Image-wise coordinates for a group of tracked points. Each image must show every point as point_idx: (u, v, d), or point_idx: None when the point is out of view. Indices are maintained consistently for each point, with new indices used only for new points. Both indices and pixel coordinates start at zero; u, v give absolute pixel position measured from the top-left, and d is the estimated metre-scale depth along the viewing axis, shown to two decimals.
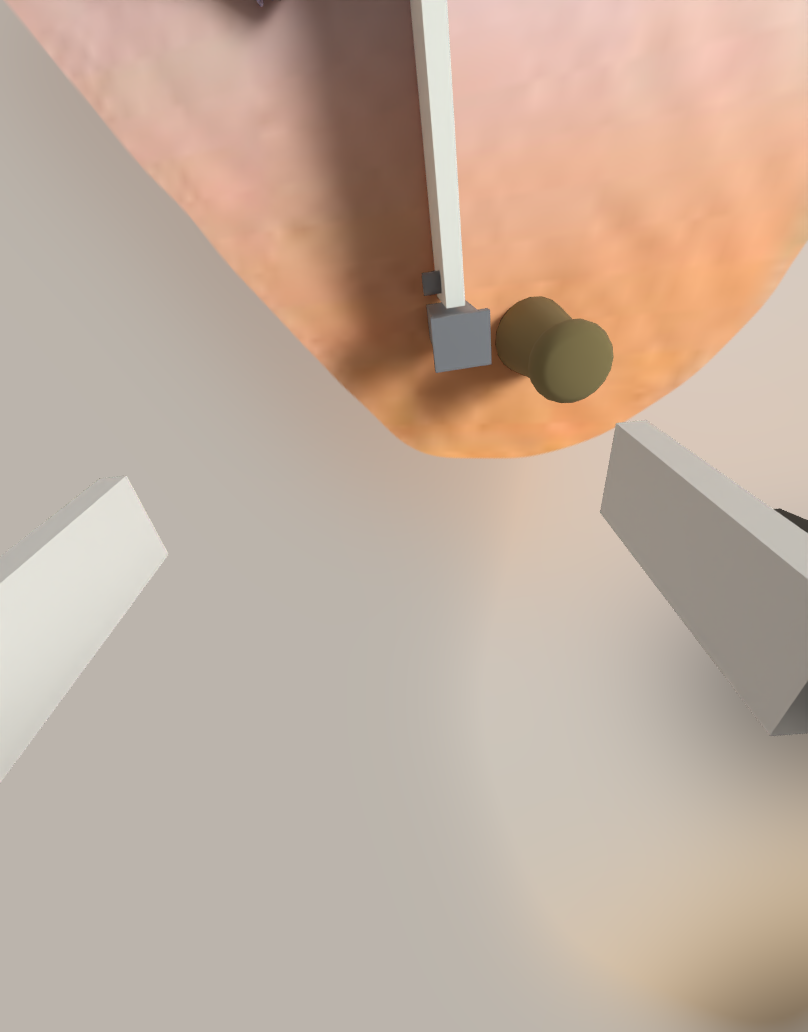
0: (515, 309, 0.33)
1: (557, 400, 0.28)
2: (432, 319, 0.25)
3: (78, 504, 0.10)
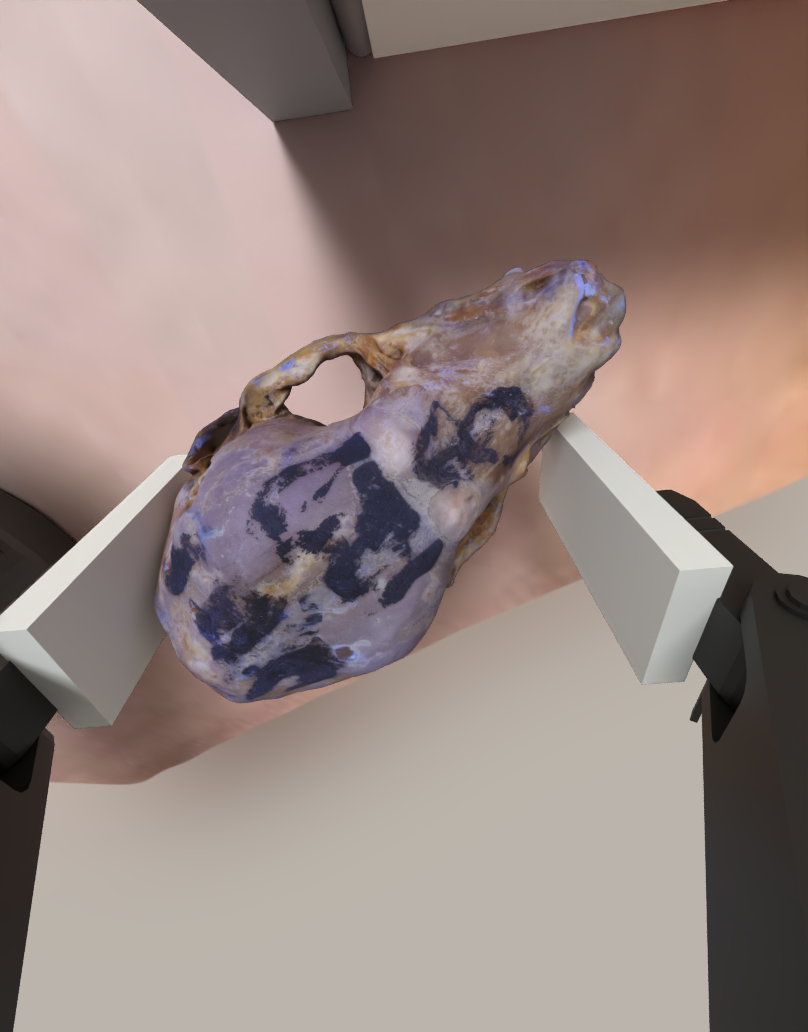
0: None
1: None
2: None
3: (158, 477, 0.11)
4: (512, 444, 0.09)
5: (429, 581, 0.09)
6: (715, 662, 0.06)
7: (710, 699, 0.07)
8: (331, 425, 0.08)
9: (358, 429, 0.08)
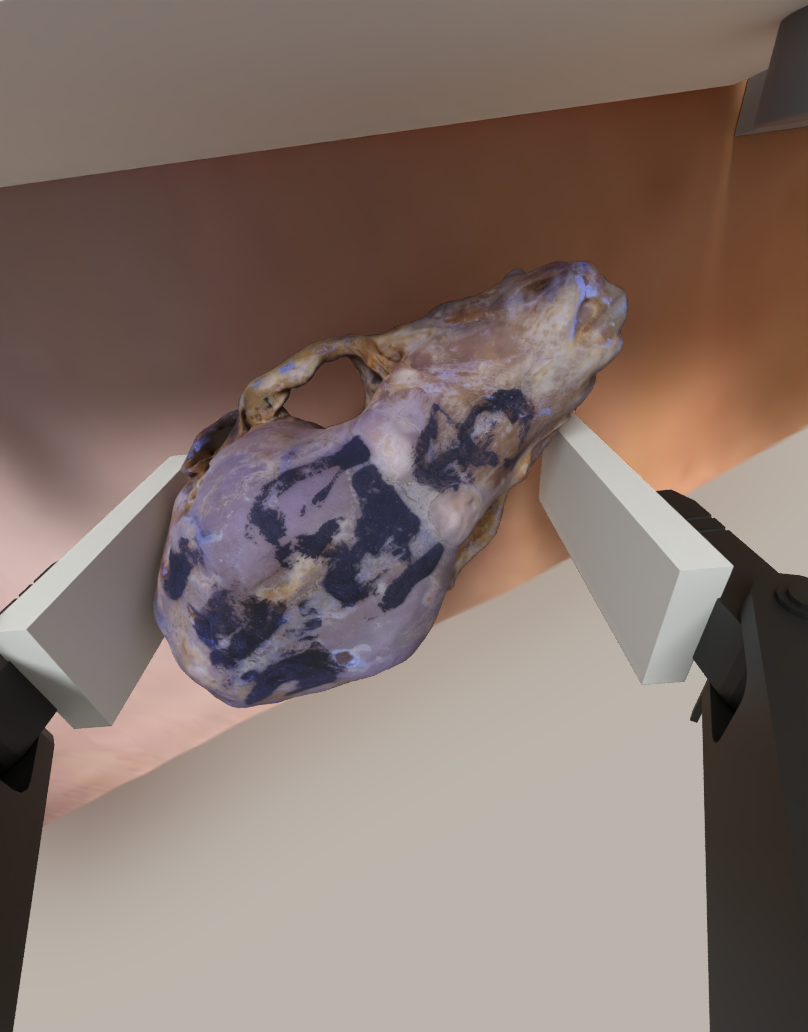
0: None
1: None
2: None
3: (158, 477, 0.11)
4: (512, 446, 0.09)
5: (429, 585, 0.08)
6: (716, 662, 0.06)
7: (711, 699, 0.07)
8: (330, 428, 0.08)
9: (357, 432, 0.08)
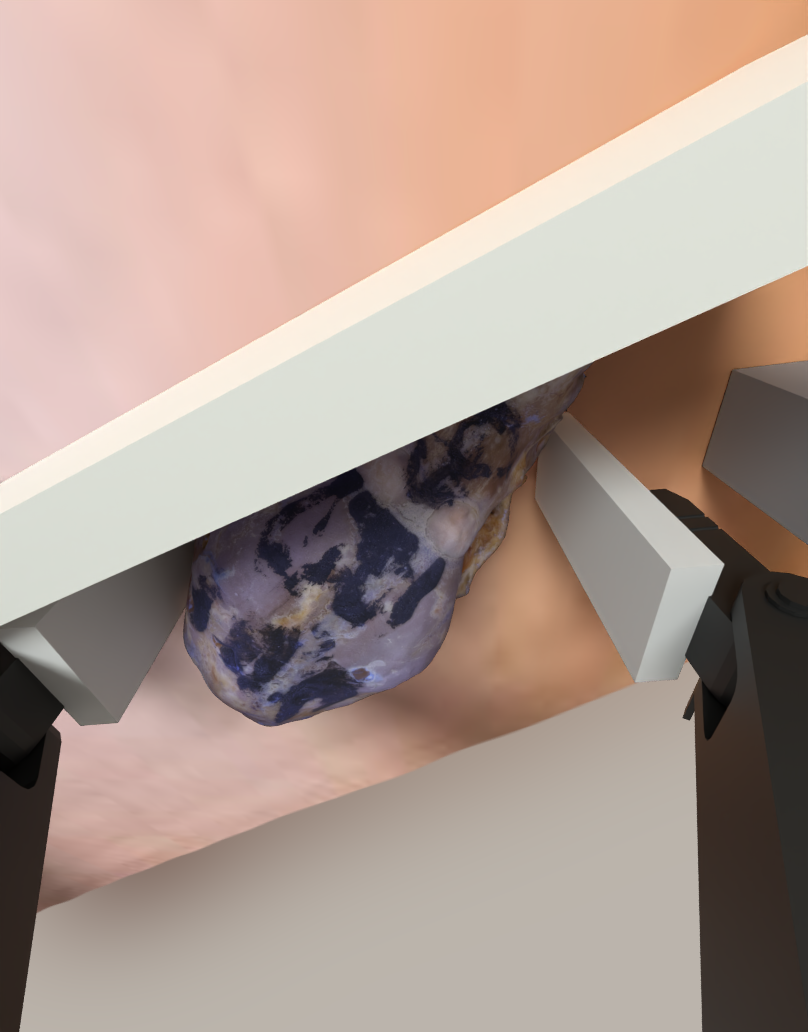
0: None
1: None
2: None
3: None
4: (504, 456, 0.09)
5: (435, 598, 0.09)
6: (707, 660, 0.07)
7: (702, 697, 0.07)
8: None
9: None
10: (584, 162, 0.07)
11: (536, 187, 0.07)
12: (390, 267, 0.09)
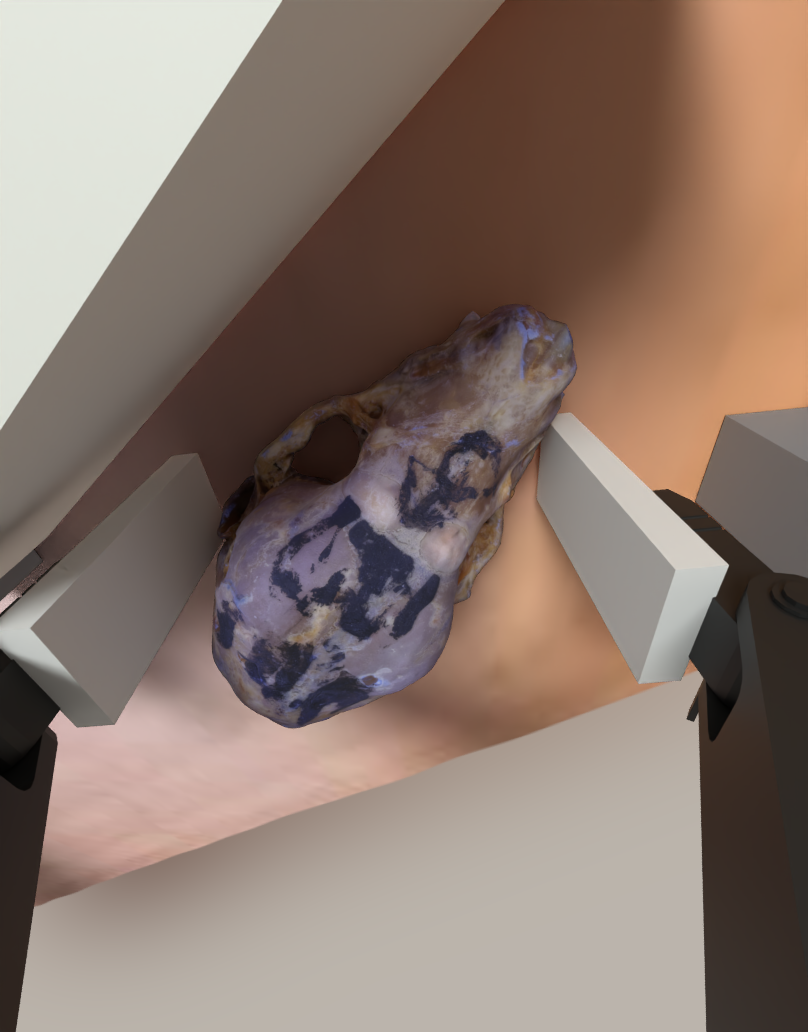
0: None
1: None
2: None
3: (160, 476, 0.11)
4: (488, 477, 0.09)
5: (433, 610, 0.10)
6: (712, 661, 0.07)
7: (707, 698, 0.07)
8: (327, 489, 0.10)
9: (349, 492, 0.09)
10: None
11: None
12: None
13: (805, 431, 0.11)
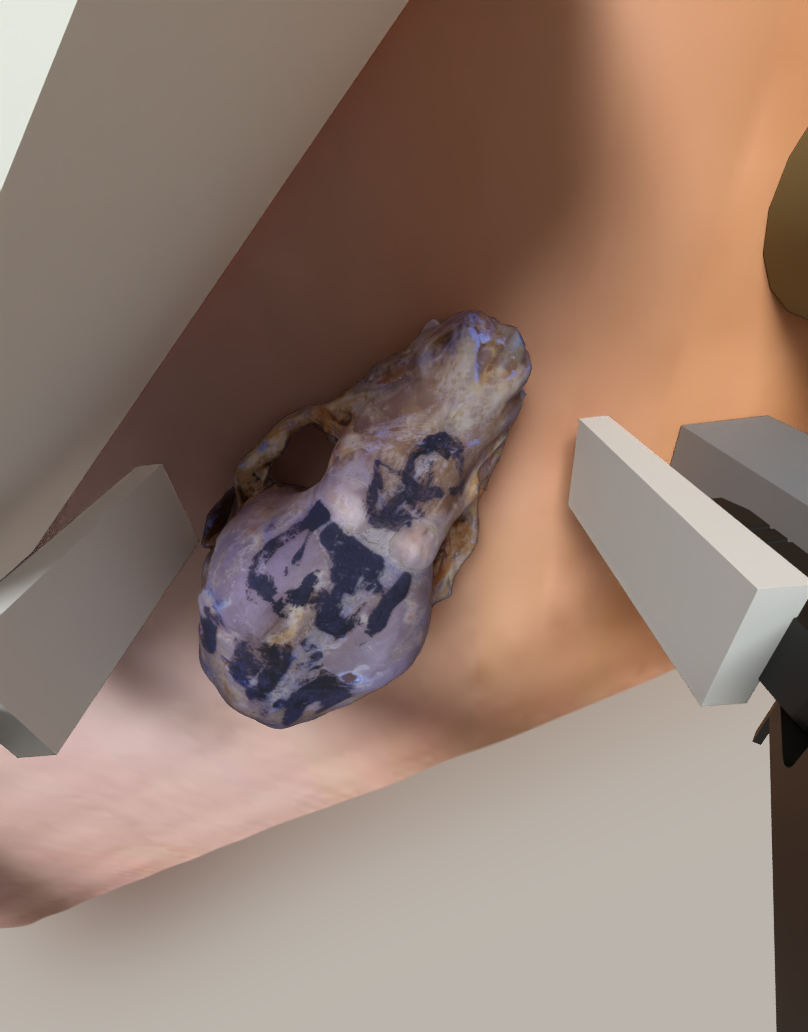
0: (800, 274, 0.10)
1: None
2: None
3: (119, 489, 0.10)
4: (453, 477, 0.10)
5: (406, 607, 0.10)
6: (790, 683, 0.06)
7: (781, 721, 0.06)
8: (300, 495, 0.10)
9: (319, 497, 0.10)
10: None
11: None
12: None
13: (752, 440, 0.12)
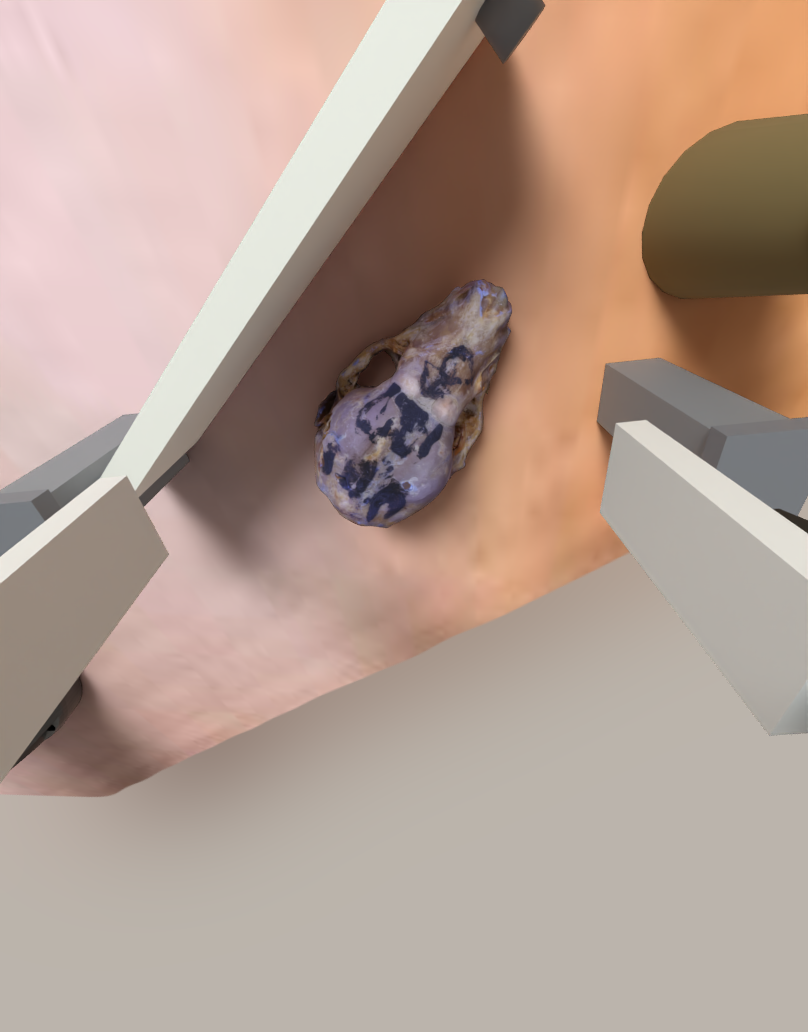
0: (659, 269, 0.18)
1: None
2: None
3: (78, 503, 0.10)
4: (467, 373, 0.18)
5: (439, 446, 0.18)
6: None
7: None
8: (381, 383, 0.18)
9: (393, 381, 0.18)
10: None
11: None
12: None
13: (642, 368, 0.19)
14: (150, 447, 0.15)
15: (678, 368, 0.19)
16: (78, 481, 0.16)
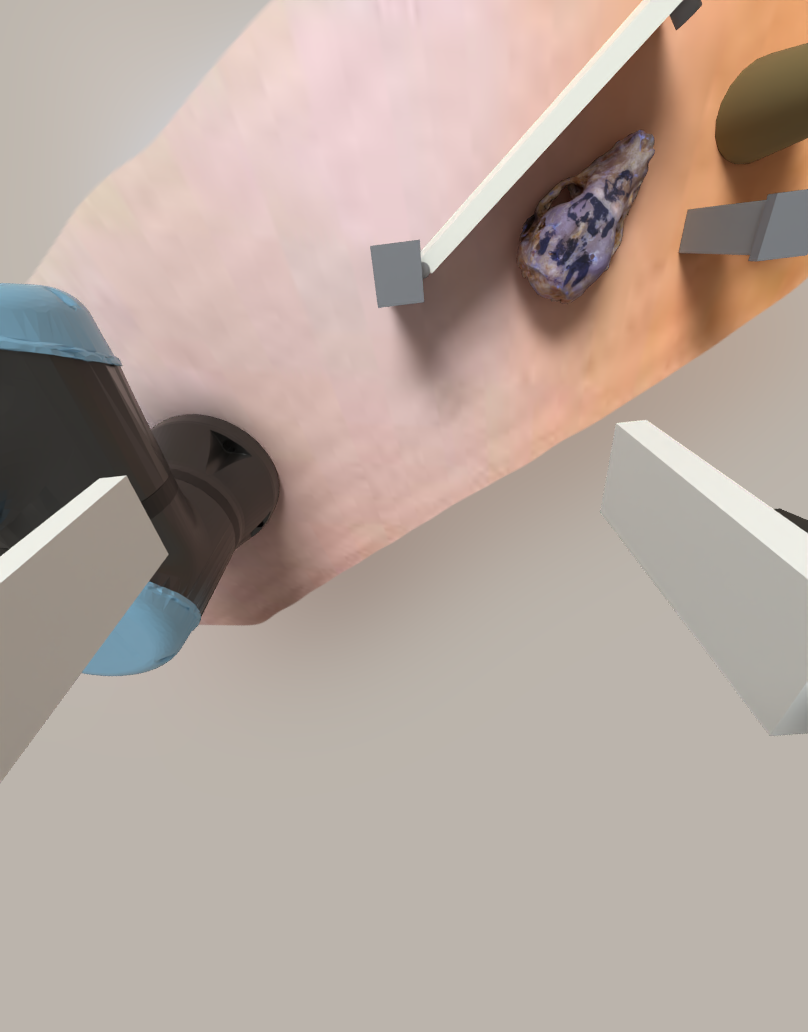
0: (726, 141, 0.31)
1: None
2: (756, 259, 0.28)
3: (78, 503, 0.10)
4: (628, 188, 0.31)
5: (612, 232, 0.31)
6: None
7: None
8: (576, 196, 0.31)
9: (586, 192, 0.30)
10: (615, 33, 0.27)
11: (603, 46, 0.27)
12: (562, 92, 0.29)
13: (713, 206, 0.33)
14: (469, 223, 0.28)
15: None
16: None
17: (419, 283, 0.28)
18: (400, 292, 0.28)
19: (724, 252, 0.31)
